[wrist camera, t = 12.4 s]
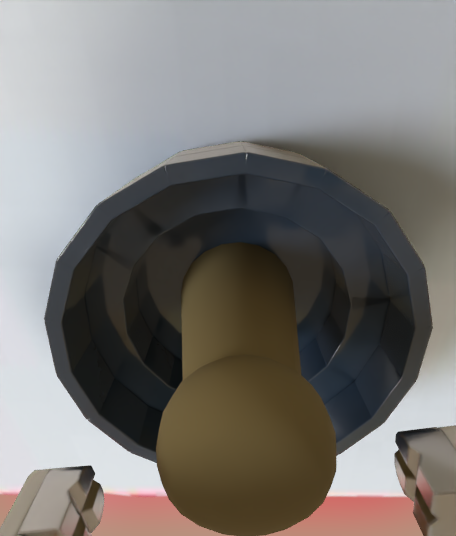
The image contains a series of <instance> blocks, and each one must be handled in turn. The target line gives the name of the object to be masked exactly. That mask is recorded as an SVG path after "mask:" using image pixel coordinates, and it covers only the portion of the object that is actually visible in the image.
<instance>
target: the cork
mask: <svg viewBox="0 0 456 536" xmlns="http://www.w3.org/2000/svg"><path fill="white" fill-rule="evenodd" d="M181 318H182V371H183V381H182V382H181V383H180V385H179V386H178V388H177V389H176V391H175V393H174V394H173V396H172V397H171V399H170V401H169V402H168V404H167V406H166V408H165V409H164V411H163V414H162V419H161V423H160V427H159V433H158V439H157V445H156V457H157V467H158V471H159V474H160V478H161V481H162V485H163V487H164V489H165V491H166V493H167V496H168V498H169V500H170V501H171V502H172V503H173V505H174V506H175V507H176V508H177V510H178V511H179V512H180V513H181V514H182V515H183V516H185V517H187V518H188V519H190V520H191V521H193V522H194V523H196V524H197V525H199V526H201V527H204V528H207V529H210V530H213V531H216V532H218V533H221V534H226V535H234V536H260V535H267V534H271V533H274V532H278V531H281V530H285V529H287V528H289V527H291V526H293V525H295V524H297V523H298V522H300V521H302V520H304V519H306V518H308V517H309V516H310V515H311V514H312V513H313V512H314V511H315V510H316V509H317V508H318V507H319V506H320V505H321V504H322V503H323V502H324V500H325V498H326V496H327V493H328V491H329V489H330V487H331V484H332V481H333V478H334V475H335V472H336V433H335V430H334V427H333V425H332V422H331V419H330V416H329V414H328V412H327V410H326V408H325V405H324V403H323V401H322V399H321V397H320V396H319V394H318V393H317V392H316V390H315V389H314V387H313V386H312V385H311V384H310V383H309V382H308V381H307V380H306V379H305V378H304V377H303V376H302V375H301V366H300V355H299V345H298V334H297V323H296V312H295V302H294V291H293V281H292V279H291V277H290V274H289V272H288V270H287V267H286V266H285V265H284V264H283V263H282V262H281V260H280V259H279V258H278V257H277V256H276V255H275V254H273V253H272V252H270V251H268V250H266V249H264V248H262V247H260V246H258V245H253V244H248V243H242V242H237V243H228V244H221V245H219V246H217V247H214V248H212V249H210V250H207V251H205V252H204V253H203V254H202V255H200V256H199V257H198V258H197V259H196V260H195V261H194V262H193V263H192V264H191V265H190V267H189V269H188V271H187V273H186V274H185V276H184V278H183V284H182V291H181Z"/></svg>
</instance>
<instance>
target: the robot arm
mask: <svg viewBox="0 0 456 536" xmlns="http://www.w3.org/2000/svg"><path fill="white" fill-rule="evenodd" d="M395 442H396V444H397V446H398V448H399V450H398V451H397V452H396V453H395V462H394V463H395V468H396V473H397V477H398V480H399V482H400V485H401V487H402V490H403V492H404V494H405V495H406V496H407V497H409V498H410V499H411V500H412V501H414V510H413V514H414V516H415V518H416V520H417V522H418V525H419V527H420V529H421V531H422V533H423V535H424V536H456V426H447V427H439V428H437V427H433V428H425V429H417V430H409V431H401V432H398V433H397V434H396V441H395ZM94 475H95V472H94V470H93V468H92V467H91V466H79V467H66V468H53V469H43V470H34V471H33V472H32V473H31V474H30V475H29V476H28V478H27V480H26V482H25V483H24V485H23V487H22V489H21V491H20V493H19V494H18V496H17V498H16V500H15V502H14V504H13V505H12V507H11V509H10V511H9V513H8V515H7V517H6V518H5V520H4V522H3V524H2V526H1V528H0V536H91V533H92V532H93V530H94V529H95V528H96V527H97V526H98V525H99V523H100V520H101V517H102V513H103V507H104V494H103V489H102V487H101V485H100V484H99V483H97V482H96V481H94V480H93V478H94Z"/></svg>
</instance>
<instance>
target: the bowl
mask: <svg viewBox="0 0 456 536" xmlns="http://www.w3.org/2000/svg"><path fill="white" fill-rule="evenodd" d="M237 242H242V243H248V244H253V245H258V246H260V247H262V248H264V249H266V250H268V251H270V252H272V253H273V254H275V255H276V256H277V257H278V258H279V259H280V260H281V262H282V263H283V264H284V265H285V266H286V267H287V270H288V272H289V274H290V277H291V279H292V281H293V291H294V302H295V312H296V323H297V334H298V345H299V355H300V366H301V375H302V376H303V377H304V378H305V379H306V380H307V381H308V382H309V383H310V384H311V385H312V386H313V387H314V389H315V390H316V392H317V393H318V394H319V396H320V397H321V399H322V401H323V403H324V405H325V408H326V410H327V412H328V414H329V416H330V419H331V422H332V425H333V427H334V430H335V433H336V456H337V455H338V454H341V453H342V452H344V451H345V450H347V449H348V448H349V447H351V446H352V445H354V444H355V443H356V442H358V441H359V440H361V439H362V438H364V437H365V436H366V435H368V434H369V433H371V432H372V431H374V430H375V429H376V428H378V427H379V426H381V425H382V424H383V423H384V422H385V421H386V420H387V418H388V417H389V416H390V414H391V413H392V412H393V411H394V409H395V408H396V407H397V405H398V404H399V403H400V401H401V400H402V399H403V397H404V396H405V395H406V394H407V392H408V391H409V390H410V388H411V387H412V386H413V384H414V383H415V382H416V380H417V378H418V375H419V371H420V368H421V365H422V361H423V358H424V355H425V351H426V348H427V345H428V341H429V338H430V335H431V331H432V328H433V327H432V317H431V310H430V302H429V294H428V286H427V278H426V270H425V267H424V264H423V262H422V261H421V259H420V258H419V256H418V254H417V253H416V251H415V250H414V248H413V246H412V245H411V243H410V242H409V240H408V239H407V237H406V235H405V234H404V232H403V231H402V229H401V227H400V226H399V224H398V223H397V221H396V220H395V218H394V216H393V215H392V213H391V212H390V211H389V210H388V209H387V208H386V207H384V206H383V205H381V204H380V203H378V202H377V201H375V200H374V199H372V198H371V197H369V196H368V195H366V194H365V193H363V192H362V191H360V190H359V189H357V188H356V187H354V186H353V185H351V184H350V183H348V182H347V181H345V180H344V179H342V178H341V177H339V176H338V175H336V174H335V173H333V172H332V171H330V170H329V169H327V168H325V167H323V166H322V165H320V164H318V163H316V162H314V161H312V160H311V159H309V158H307V157H305V156H303V155H302V154H299V153H296V152H291V151H287V150H282V149H277V148H272V147H268V146H263V145H258V144H253V143H248V142H244V141H241V142H240V141H238V142H231V143H225V144H219V145H213V146H207V147H201V148H195V149H189V150H183V151H182V152H178V153H177V154H175V155H173V156H172V157H170V158H168V159H167V160H165V161H163V162H162V163H160V164H158V165H157V166H155V167H153V168H151V169H150V170H148V171H146V172H145V173H143V174H141V175H140V176H138V177H136V178H135V179H133V180H132V181H130V182H129V183H127V184H126V185H124V186H123V187H122V188H120V189H119V190H117V191H116V192H114V193H113V194H112V195H110V196H109V197H107V198H106V199H104V200H103V201H102V202H100V203H99V204H98V205H96V207H95V208H94V209H93V211H92V212H91V213H90V215H89V216H88V217H87V219H86V220H85V222H84V223H83V224H82V226H81V227H80V228H79V230H78V231H77V232H76V234H75V235H74V237H73V238H72V239H71V241H70V242H69V243H68V245H67V246H66V247H65V249H64V250H63V252H62V253H61V254H60V256H59V257H58V258H57V261H56V264H55V269H54V274H53V279H52V283H51V288H50V293H49V298H48V303H47V308H46V313H45V317H44V320H45V326H46V330H47V335H48V339H49V344H50V348H51V353H52V357H53V362H54V366H55V371H56V374H57V377H58V378H59V380H60V381H61V383H62V384H63V386H64V387H65V389H66V390H67V391H68V393H69V394H70V396H71V397H72V399H73V400H74V402H75V403H76V405H77V406H78V408H79V409H80V411H81V412H82V414H83V415H84V417H85V418H86V419H88V421H89V422H91V423H92V424H93V425H95V426H96V427H97V428H99V429H100V430H101V431H102V432H104V433H105V434H106V435H108V436H109V437H110V438H112V439H113V440H114V441H115V442H117V443H118V444H119V445H121V446H122V447H123V448H125V449H126V450H127V451H129V452H131V453H133V454H135V455H138V456H140V457H143V458H145V459H148V460H150V461H153V462H155V463H157V457H156V445H157V439H158V433H159V427H160V423H161V419H162V414H163V411H164V409H165V408H166V406H167V404H168V402H169V401H170V399H171V397H172V396H173V394H174V393H175V391H176V389H177V388H178V386H179V385H180V383H181V382H182V381H183V371H182V318H181V291H182V284H183V278H184V276H185V274H186V273H187V271H188V269H189V267H190V265H191V264H192V263H193V262H194V261H195V260H196V259H197V258H198V257H199V256H200V255H202V254H203V253H204V252H205V251H207V250H210V249H212V248H214V247H217V246H219V245H221V244H228V243H237Z"/></svg>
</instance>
